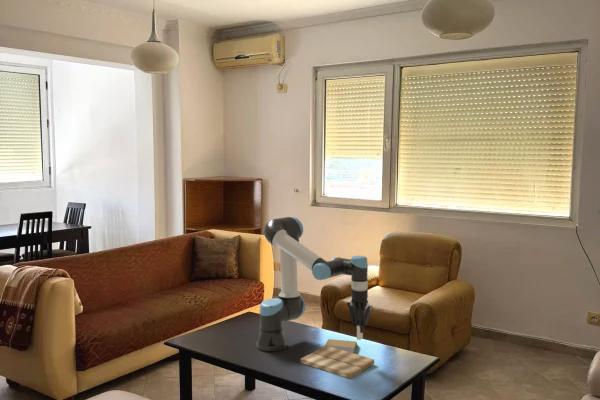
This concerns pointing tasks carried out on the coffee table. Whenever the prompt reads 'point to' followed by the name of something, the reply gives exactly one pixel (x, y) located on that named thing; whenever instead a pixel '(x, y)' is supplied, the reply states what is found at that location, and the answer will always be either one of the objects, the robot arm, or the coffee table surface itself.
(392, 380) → the coffee table surface
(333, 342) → the crown molding
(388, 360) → the coffee table surface
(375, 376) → the coffee table surface
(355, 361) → the board
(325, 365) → the laid board
